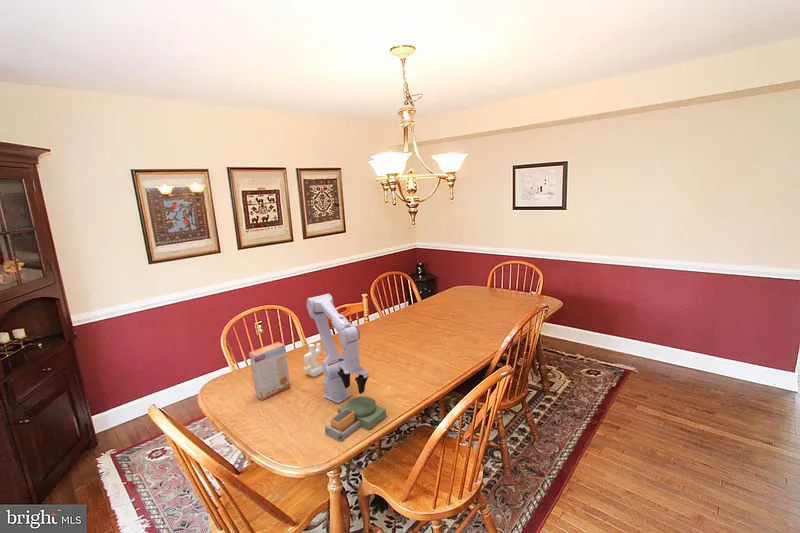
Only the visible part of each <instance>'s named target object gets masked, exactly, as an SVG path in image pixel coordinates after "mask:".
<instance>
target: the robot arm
mask: <svg viewBox="0 0 800 533" xmlns="http://www.w3.org/2000/svg"><path fill="white" fill-rule="evenodd" d="M306 308H307V311H308V314H309V317H310V318H311V319H312V320H314V322H315V324H316V328H317V331H318V333H319V337H320V341H321V345H322V347H323V351H324V352H325V358H324V359H323V361H322V363H321V365H322V367H323V371H322V373H323V376H324V379H323V387H324V388H323V389H324V395H323V398H325V399H328V400H330V401H332V402H335V403H337V404H340V403H342V402H343V401H344V400H346V399H348V398H349V397H351V396H352V395H353V393H351V392H349V391H348V388H349V387H351V375H357V377H355V378H354V380H355V382H356V385H357V389H358V393H359V394H360V395H362V394H363V393H365V389H366V384H367V381H368V379H369V377H370V374H369V371H367V370H366V369H365V368H363V367H362V366H361V364H360V362H361V361H360V353H359V352H360V350H359V340H360V339H361V331H360V328H359V327H358V325H356V324H352V323H350V321H349V320H348V318H346V317H345V316H344V315H343V314H340V313H339V311H338V310H337V309H336V307H335V305H334V298H333V296H332V295H331V294H330V293H326V294H321V295H318V296H313V297H308V298H307V300H306ZM327 317H328V318H329V319H330V320H331V326H332V327H333V328H334V329H335V331H336V332H337V333H338V337H339V341H340V345H341V347H342V351H343V354H342V353H339V352H338V349H337V346H336V344H335V340H334V337H333V334H332V331H331V330H332V329H331V327H330V325H329V322H328V318H327Z"/></svg>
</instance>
